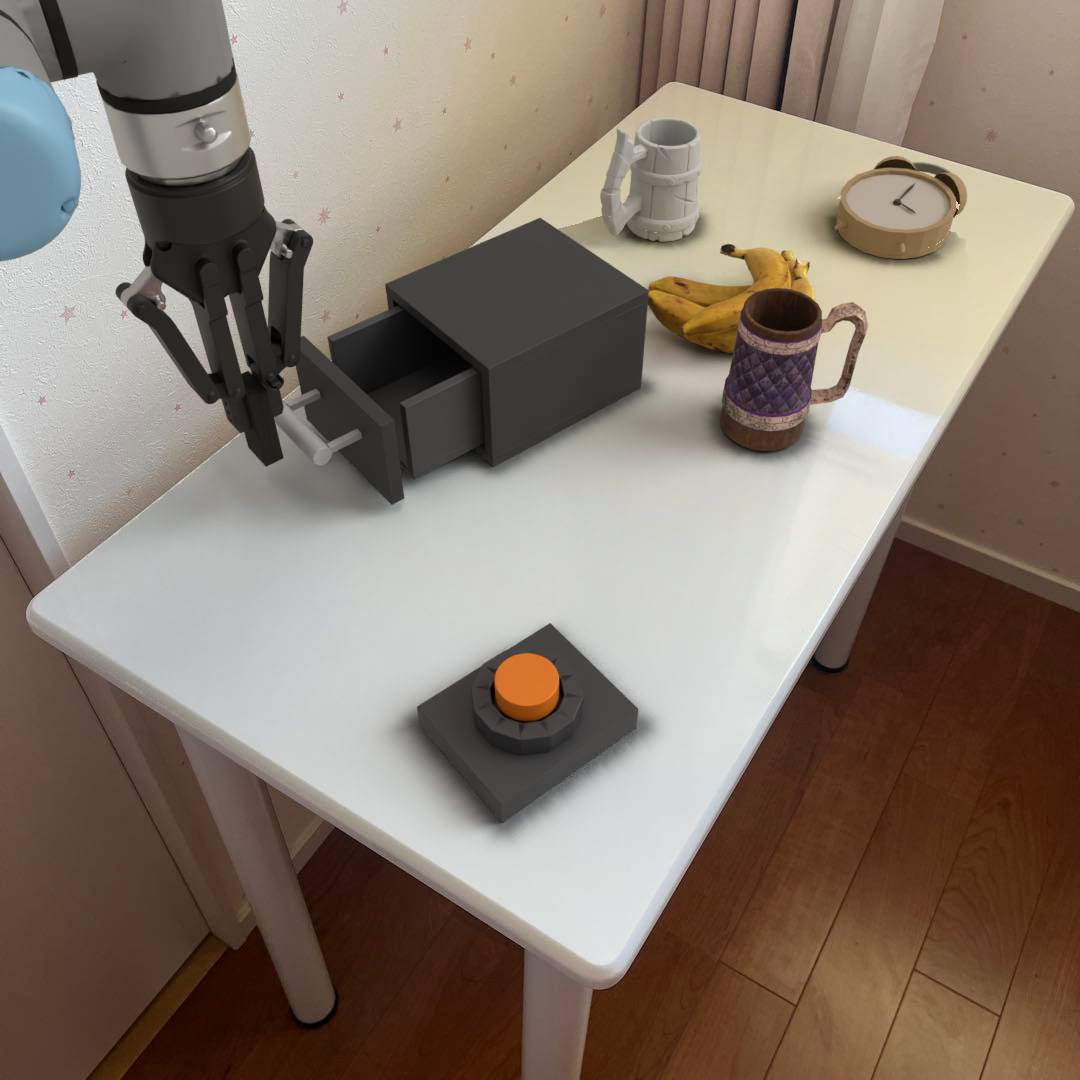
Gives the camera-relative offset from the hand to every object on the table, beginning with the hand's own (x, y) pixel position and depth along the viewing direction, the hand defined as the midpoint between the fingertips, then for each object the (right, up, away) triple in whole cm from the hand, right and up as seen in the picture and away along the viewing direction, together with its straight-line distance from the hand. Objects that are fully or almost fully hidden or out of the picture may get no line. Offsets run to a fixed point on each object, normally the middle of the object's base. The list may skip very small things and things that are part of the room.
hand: (265, 452), depth 82 cm
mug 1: (+31, +25, +31) cm, 51 cm away
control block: (+20, -19, -10) cm, 29 cm away
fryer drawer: (+9, +2, +8) cm, 13 cm away
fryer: (+18, +7, +14) cm, 24 cm away
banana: (+38, +15, +21) cm, 46 cm away
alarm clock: (+57, +26, +32) cm, 70 cm away
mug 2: (+40, +3, +10) cm, 42 cm away
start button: (+20, -16, -12) cm, 28 cm away
